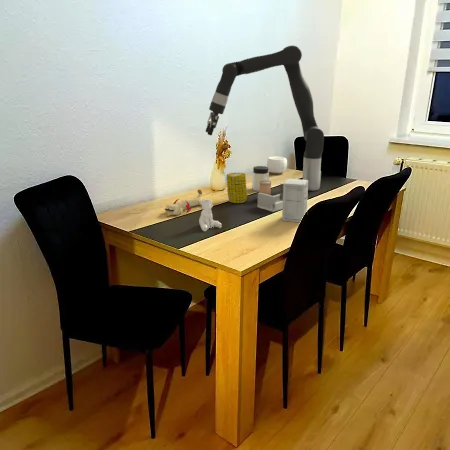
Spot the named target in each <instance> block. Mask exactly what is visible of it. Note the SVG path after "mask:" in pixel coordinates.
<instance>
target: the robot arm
mask: <svg viewBox="0 0 450 450" xmlns="http://www.w3.org/2000/svg"><path fill="white" fill-rule="evenodd" d="M302 53H303V52H302V50H301V48H300V47H298V46H297V45H287V46H285V47H284V48H282V50H279V51H276V52H273V53H269V54H264V55H258V56H253V57H250V58H245V59H243V60H239V61H234V62H229V63H228V62H227V63H225V64H224V65H223V66H222V73H221V76H220V80H219V82H218V83H217V86H216V89H215V92H214V94H213V97H212V99H211V101H210V104H209V105H210V106H209V108H208V109H209V111H210V113H209V117H208V120H207V125H206V128H205V132H206V133H207V135H208V136H213V132H214V129H216V128H217V125H218V121H219V119H220V116H219V115H224V112H225V109H226V105H227V103H228V101H229V100H228V99H229V96H230V93H231V90H232V87H233V85H234V82H235V80H236V77H238V76H242V75H248V74H249V75H250V74H255V73H256V72H260V71H264V70H267V69H270V68H274V67H279V66H283V68H284V70H285V72H286V75H287V79H288V84H289V87H290V91H291V95H292V99H293V101H294V106H295V108H296V111H297V114H298V116H299V119H300V123H301V128H302V133H303V138H304V141H305V151H304V152H303V164H302V166H303V168H302V180H308V191H318V190H319V189H321V177H322V171H321V167H322V165H321V164H322V156H323V155H322V154H323V152H324V143H325V133H324V131H323V130H322V129H321V128H319V126H318V123H317V120H316V118H315V113H314V101H313V96H312V91H311V89H310V86H309V84H308V82H307V80H306V78H305V76H304V74H303V72H302V69H301V64H300V61H301V59H302V57H303V54H302Z"/></svg>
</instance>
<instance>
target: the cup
mask: <svg viewBox="0 0 450 450" xmlns="http://www.w3.org/2000/svg"><path fill="white" fill-rule="evenodd" d="M287 166H288V160H287V158H286V157H285V156H279V155H278V156H269V157H267V160H266V167H268V169H269V170H268V172H269V173H271V174H273V175H281V174H282V173H284V172H285V171H286V169H287Z"/></svg>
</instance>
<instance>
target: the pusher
mask: <svg viewBox="0 0 450 450" xmlns="http://www.w3.org/2000/svg"><path fill="white" fill-rule="evenodd" d="M283 184H284V183H280V189H279V190H280V191H279V194H280V200H282V201H283Z"/></svg>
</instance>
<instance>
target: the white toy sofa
mask: <svg viewBox="0 0 450 450" xmlns="http://www.w3.org/2000/svg"><path fill="white" fill-rule="evenodd" d="M256 205H257V206H256V207H257V208H258V209H259V208H260V209H263V210H267V211H269V212H272V213H274V212H277V211H281V210H283V201H282V200H280V193H277V194H275V195H267V194H264V193H260V192H259V191H258V193H257V204H256Z"/></svg>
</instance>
